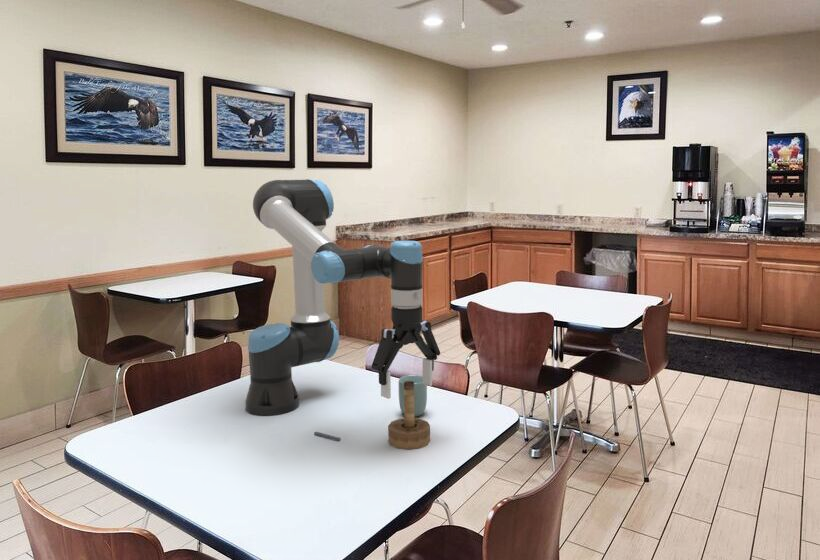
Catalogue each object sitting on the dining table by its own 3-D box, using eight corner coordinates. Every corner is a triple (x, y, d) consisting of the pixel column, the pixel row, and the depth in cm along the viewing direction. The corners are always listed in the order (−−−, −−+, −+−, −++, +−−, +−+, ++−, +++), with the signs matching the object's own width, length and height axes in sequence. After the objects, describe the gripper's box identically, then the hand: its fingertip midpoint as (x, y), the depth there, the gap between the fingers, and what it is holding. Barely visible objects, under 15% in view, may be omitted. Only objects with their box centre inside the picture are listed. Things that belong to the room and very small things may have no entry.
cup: (424, 420, 168) (424, 384, 167) (396, 418, 170) (395, 382, 168) (429, 410, 176) (428, 375, 174) (402, 408, 177) (401, 374, 176)
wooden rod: (402, 441, 155) (401, 382, 153) (410, 438, 156) (409, 380, 154) (409, 444, 153) (408, 384, 151) (417, 441, 155) (416, 382, 152)
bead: (380, 440, 155) (380, 425, 155) (410, 429, 162) (410, 415, 161) (407, 452, 148) (407, 436, 147) (437, 441, 154) (437, 425, 154)
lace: (314, 434, 160) (314, 432, 160) (316, 433, 160) (316, 431, 160) (338, 441, 155) (338, 439, 155) (340, 440, 156) (340, 437, 156)
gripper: (375, 316, 139) (377, 407, 142) (454, 300, 155) (453, 382, 159) (355, 310, 144) (357, 398, 148) (433, 296, 161) (433, 376, 164)
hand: (407, 390), depth 153 cm, fingers open, 13 cm apart
